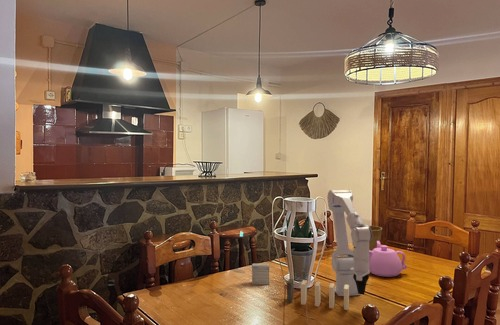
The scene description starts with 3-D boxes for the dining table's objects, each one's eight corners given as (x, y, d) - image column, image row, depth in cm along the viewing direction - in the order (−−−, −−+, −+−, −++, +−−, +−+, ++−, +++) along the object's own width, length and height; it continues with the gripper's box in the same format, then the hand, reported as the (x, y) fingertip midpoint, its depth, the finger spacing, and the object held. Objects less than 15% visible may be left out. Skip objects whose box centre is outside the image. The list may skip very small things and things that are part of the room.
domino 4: (334, 303, 143) (334, 283, 143) (333, 308, 138) (333, 287, 138) (330, 302, 143) (330, 282, 143) (329, 307, 139) (329, 287, 138)
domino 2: (306, 300, 146) (306, 280, 146) (304, 304, 142) (304, 284, 141) (303, 299, 147) (303, 280, 147) (300, 304, 142) (300, 284, 142)
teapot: (398, 266, 192) (398, 240, 192) (412, 279, 171) (412, 250, 170) (356, 265, 194) (356, 239, 194) (365, 278, 173) (365, 249, 173)
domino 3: (320, 301, 145) (320, 281, 144) (318, 306, 140) (318, 286, 140) (316, 301, 145) (316, 281, 145) (314, 306, 140) (314, 285, 140)
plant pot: (364, 249, 227) (364, 224, 227) (386, 254, 215) (386, 227, 215) (350, 253, 217) (350, 227, 217) (373, 259, 206) (373, 231, 206)
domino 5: (348, 305, 141) (348, 284, 141) (348, 310, 136) (348, 289, 136) (344, 304, 142) (344, 284, 142) (343, 309, 137) (343, 288, 137)
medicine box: (268, 281, 168) (268, 263, 168) (269, 284, 164) (269, 265, 164) (251, 281, 168) (251, 263, 168) (252, 285, 164) (252, 266, 164)
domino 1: (293, 298, 148) (293, 279, 148) (290, 303, 143) (290, 283, 143) (289, 297, 149) (289, 278, 148) (287, 302, 144) (287, 282, 144)
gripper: (353, 252, 145) (353, 286, 145) (347, 262, 132) (347, 298, 132) (371, 254, 143) (371, 288, 143) (367, 264, 129) (367, 301, 129)
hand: (361, 293), depth 137 cm, fingers closed
